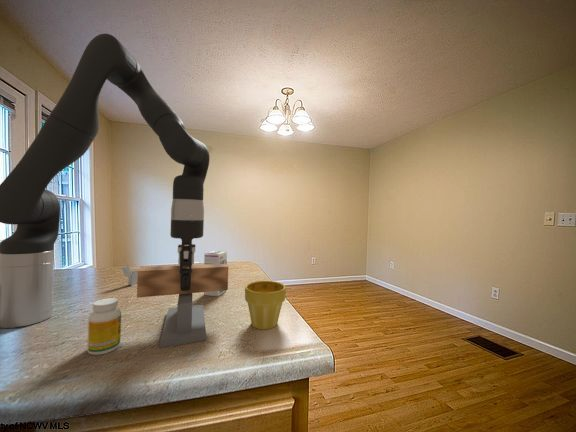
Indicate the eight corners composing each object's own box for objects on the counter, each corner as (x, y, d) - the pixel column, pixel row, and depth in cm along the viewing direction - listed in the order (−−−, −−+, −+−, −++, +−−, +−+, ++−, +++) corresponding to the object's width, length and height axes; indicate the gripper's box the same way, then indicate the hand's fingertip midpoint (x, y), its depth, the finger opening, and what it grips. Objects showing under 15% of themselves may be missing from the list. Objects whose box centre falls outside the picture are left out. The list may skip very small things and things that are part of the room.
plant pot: (268, 338, 55) (269, 295, 55) (235, 325, 61) (236, 286, 60) (292, 321, 64) (293, 284, 64) (261, 312, 69) (262, 278, 69)
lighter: (137, 282, 94) (137, 262, 94) (140, 282, 94) (141, 262, 94) (120, 287, 87) (121, 265, 87) (124, 288, 87) (125, 266, 87)
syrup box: (219, 296, 81) (220, 253, 81) (203, 295, 82) (204, 252, 82) (226, 291, 87) (227, 251, 87) (211, 290, 88) (212, 250, 88)
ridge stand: (159, 347, 50) (160, 309, 50) (168, 313, 67) (169, 284, 67) (205, 340, 53) (206, 304, 53) (202, 309, 70) (203, 282, 70)
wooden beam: (225, 285, 65) (226, 263, 65) (227, 290, 62) (228, 266, 62) (140, 292, 58) (141, 267, 58) (136, 297, 54) (137, 271, 54)
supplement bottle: (85, 348, 49) (86, 300, 49) (117, 338, 53) (118, 295, 53) (89, 359, 45) (91, 308, 45) (123, 348, 49) (124, 301, 49)
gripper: (204, 219, 54) (202, 295, 55) (202, 218, 68) (201, 279, 68) (168, 218, 52) (165, 298, 52) (173, 217, 65) (171, 280, 65)
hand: (185, 287), depth 60 cm, fingers closed on wooden beam, 4 cm apart
